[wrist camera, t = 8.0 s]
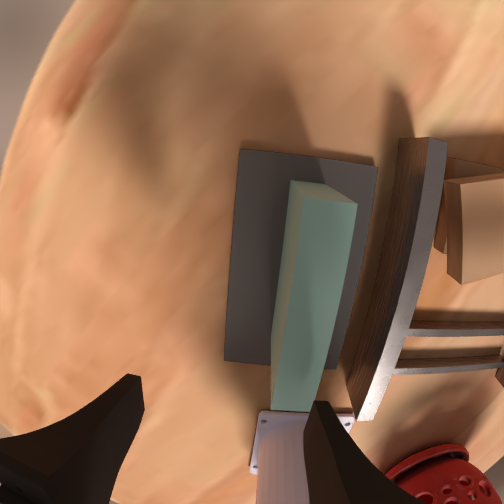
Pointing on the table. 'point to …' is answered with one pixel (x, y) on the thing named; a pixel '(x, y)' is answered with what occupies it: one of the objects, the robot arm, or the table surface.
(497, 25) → the table surface
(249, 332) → the mat
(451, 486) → the plant pot
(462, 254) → the offcut upper
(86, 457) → the robot arm
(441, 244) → the offcut lower
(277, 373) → the teal board
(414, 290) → the rack
